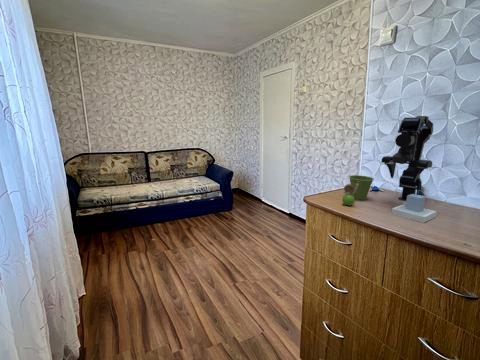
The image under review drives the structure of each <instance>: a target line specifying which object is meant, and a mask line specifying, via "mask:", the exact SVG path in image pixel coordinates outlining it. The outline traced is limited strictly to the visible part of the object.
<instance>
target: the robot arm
mask: <svg viewBox="0 0 480 360" xmlns="http://www.w3.org/2000/svg"><path fill="white" fill-rule="evenodd" d="M433 132H434V123H433V122H432V121H431V119H429V116H427V115H417V116H415V117H404V118H403V119H402V120H401V122H400V125H399V127H398V130H397V133H398V135H397V136H396V138H395V140H394V141H395V145H396V146H397V147H398V151H397V152H396V153H394V154H393V155H392V156H389V155H386V156H382V158H381V163H383V164H384V165H385V166H386V167H387V170H388V171H389V175H390V179H394V176H395V172H396V166H397V164H400V165H406V164H407V168H406V169H403V171H402V174H401V175H400V177H399V182H398V184H399V185H398V187H399V188H401V189H402V190H401V196H400V197H398V199H399V200H403V201H406V200H407V195H410V194H416V191H422V184H423V183H422V179H421V174H422V173H423V172H424V171H425V170H427V169H428V168H432V166H433V161H432V160H430V159H429V160H428V159H422V155H423V151H424V147H425V144H426V143H427V142H428V141H429V140H430V138H431V136H432V135H433V134H434V133H433Z"/></svg>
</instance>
